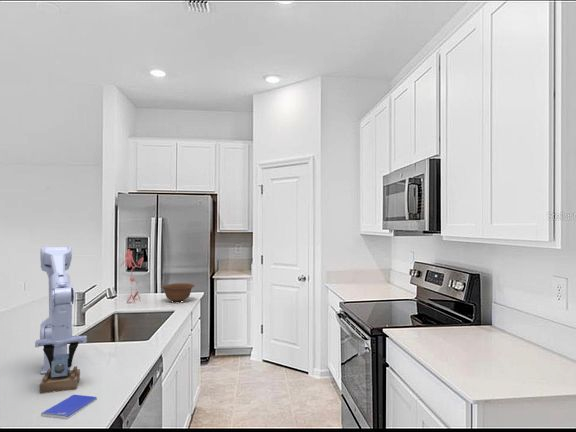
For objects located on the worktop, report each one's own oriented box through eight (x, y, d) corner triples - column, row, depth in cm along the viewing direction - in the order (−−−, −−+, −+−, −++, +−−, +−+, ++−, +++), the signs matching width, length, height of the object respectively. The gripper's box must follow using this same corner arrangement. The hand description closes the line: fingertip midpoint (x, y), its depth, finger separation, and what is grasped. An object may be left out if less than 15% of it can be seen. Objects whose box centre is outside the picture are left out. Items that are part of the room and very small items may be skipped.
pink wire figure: (146, 298, 288) (146, 247, 289) (131, 305, 263) (131, 250, 263) (125, 298, 289) (124, 248, 289) (107, 305, 263) (107, 250, 264)
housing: (55, 369, 137) (55, 354, 137) (70, 368, 138) (70, 353, 138) (51, 377, 130) (51, 361, 130) (67, 376, 131) (67, 360, 132)
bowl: (153, 301, 275) (153, 285, 275) (181, 297, 292) (181, 281, 292) (173, 306, 261) (173, 289, 261) (201, 301, 278) (201, 285, 278)
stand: (46, 381, 137) (46, 368, 137) (79, 377, 140) (79, 365, 141) (39, 393, 128) (40, 379, 128) (76, 389, 131) (76, 375, 131)
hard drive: (67, 415, 111) (97, 396, 123) (40, 412, 113) (72, 394, 125) (67, 421, 111) (96, 401, 123) (40, 418, 113) (72, 399, 125)
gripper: (33, 329, 128) (32, 373, 128) (85, 325, 133) (84, 368, 133) (38, 324, 135) (37, 366, 134) (87, 320, 140) (86, 361, 140)
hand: (61, 367), depth 134 cm, fingers closed on housing, 4 cm apart
